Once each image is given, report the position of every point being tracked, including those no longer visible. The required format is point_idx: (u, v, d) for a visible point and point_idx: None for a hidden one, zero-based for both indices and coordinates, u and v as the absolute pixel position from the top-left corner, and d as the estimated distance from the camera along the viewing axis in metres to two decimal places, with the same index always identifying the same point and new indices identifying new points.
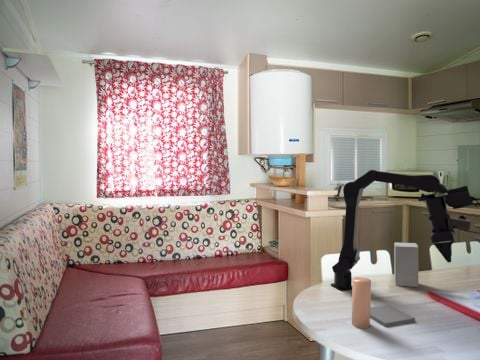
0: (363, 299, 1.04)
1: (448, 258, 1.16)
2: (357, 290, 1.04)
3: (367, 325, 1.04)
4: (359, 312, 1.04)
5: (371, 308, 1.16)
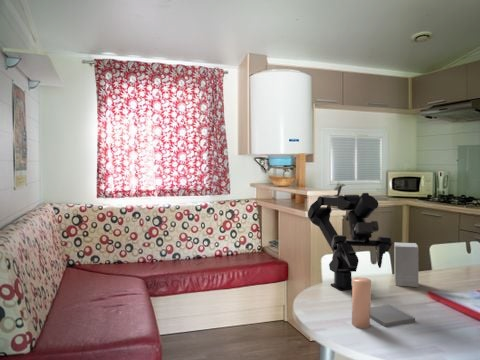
0: (363, 298, 1.04)
1: (348, 263, 1.18)
2: (357, 290, 1.04)
3: (367, 325, 1.04)
4: (359, 312, 1.04)
5: (371, 308, 1.16)
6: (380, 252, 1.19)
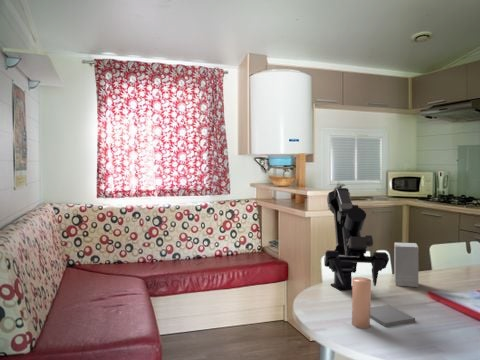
0: (363, 298, 1.04)
1: (341, 280, 1.11)
2: (357, 290, 1.04)
3: (367, 325, 1.04)
4: (359, 312, 1.04)
5: (371, 308, 1.16)
6: (375, 269, 1.11)
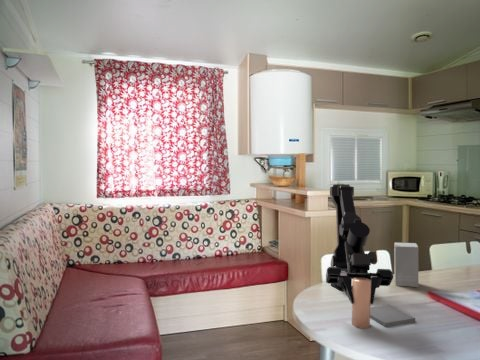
0: (363, 298, 1.04)
1: (350, 299, 1.06)
2: (357, 290, 1.04)
3: (367, 325, 1.04)
4: (359, 312, 1.04)
5: (371, 308, 1.16)
6: (372, 287, 1.07)
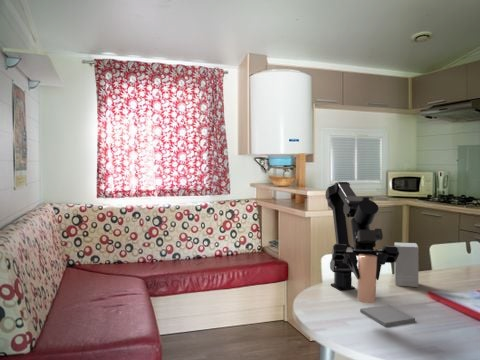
0: (369, 274, 1.05)
1: (356, 275, 1.07)
2: (363, 265, 1.05)
3: (373, 300, 1.06)
4: (365, 288, 1.05)
5: (371, 308, 1.16)
6: (378, 263, 1.08)
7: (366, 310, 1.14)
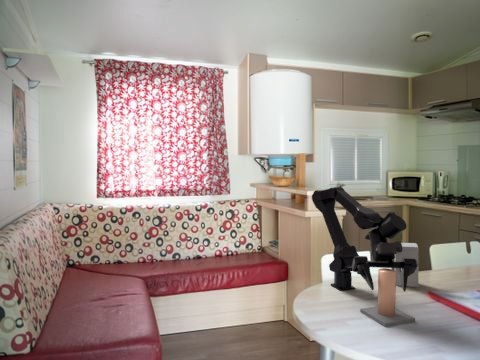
0: (389, 288, 1.09)
1: (371, 286, 1.12)
2: (384, 280, 1.10)
3: (393, 313, 1.10)
4: (385, 301, 1.10)
5: (371, 308, 1.16)
6: (405, 274, 1.12)
7: (366, 310, 1.14)
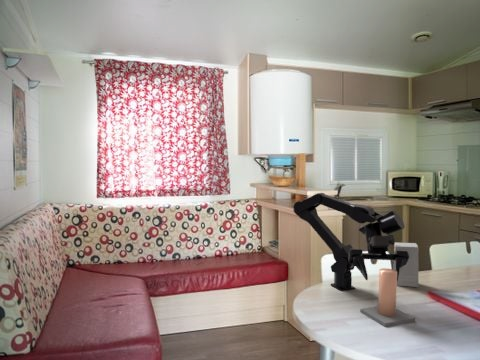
0: (390, 288, 1.09)
1: (365, 276, 1.19)
2: (384, 280, 1.10)
3: (393, 313, 1.10)
4: (386, 301, 1.10)
5: (371, 308, 1.16)
6: (397, 266, 1.19)
7: (366, 310, 1.14)
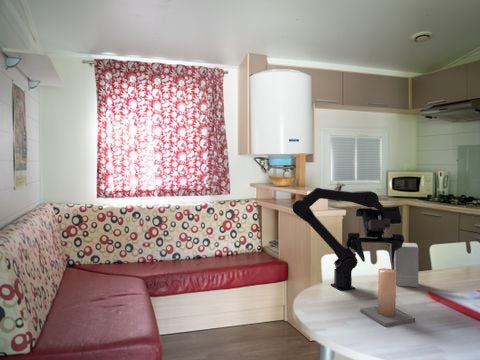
0: (389, 288, 1.09)
1: (362, 258, 1.25)
2: (384, 280, 1.10)
3: (393, 313, 1.10)
4: (385, 301, 1.10)
5: (371, 308, 1.16)
6: (392, 248, 1.25)
7: (366, 310, 1.14)
